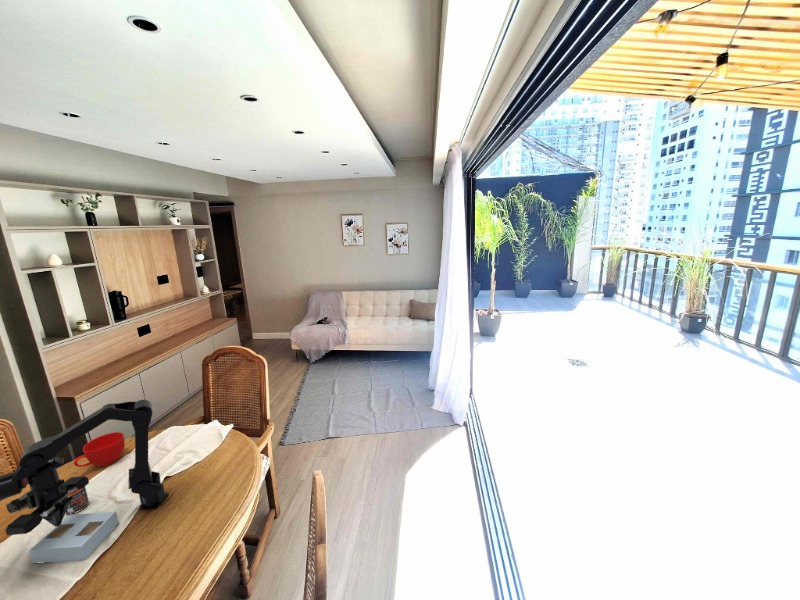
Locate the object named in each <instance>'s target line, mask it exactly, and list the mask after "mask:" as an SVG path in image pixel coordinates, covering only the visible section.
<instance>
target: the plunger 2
mask: <svg viewBox="0 0 800 600" xmlns="http://www.w3.org/2000/svg"><path fill="white" fill-rule="evenodd" d="M98 527H99V523H98V522H93V523H91V524H89V525H87V526H86V527H84V528H83V529H82V531H81V534H82V536H86V535H91V534H92V533H93V532H94V531H95V530H96V529H97V528H98Z"/></svg>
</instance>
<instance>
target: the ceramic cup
mask: <svg viewBox="0 0 800 600" xmlns="http://www.w3.org/2000/svg"><path fill="white" fill-rule="evenodd" d="M125 444H126V441H125V435H124V433H123V432H121V431H120V432H119V431H118V432H110V433H106V434H104V435H100V436H98V437H95V438H93V439H91V440H90V441H88V442H87V443H86V444H84V446H83V447H82V451H83V454H84V455H80V456H77V457H76V458H75V459H74V461H73V465H74V466H75V467H78V468H81V467H82V468H83V467H88V466H91V465H94V466H98V467H107V466H109V465H112V464H114V463H115V462H117V461H118V460H119V458H120V457H121V455H122V454H123V452H124V451H125V450H124V449H125ZM82 458H86V459H87V461H88V463H84V464H78V461H79V460H80V459H82Z"/></svg>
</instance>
